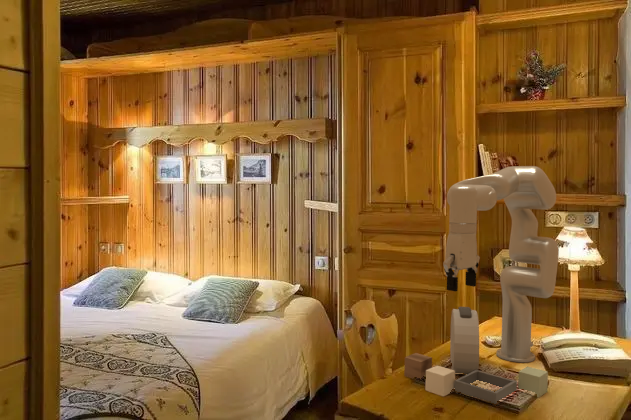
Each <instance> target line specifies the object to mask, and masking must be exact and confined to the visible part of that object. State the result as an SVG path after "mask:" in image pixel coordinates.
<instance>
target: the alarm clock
mask: <svg viewBox="0 0 631 420" xmlns="http://www.w3.org/2000/svg"><path fill="white" fill-rule="evenodd" d="M450 317H451V318H450V341H449V342H450V349H449V350H450V364H451V363H452V366H451V370H454V371H455V373H464V374H469V373H471V372H473V371H475V370H479V366H480V365H479V364H480V325H479V324H480V323H479V314H478V312H477V310H476V309H471V307H469V306H458V307H457V308H452V310H451V316H450Z"/></svg>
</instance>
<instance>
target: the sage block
mask: <svg viewBox="0 0 631 420" xmlns="http://www.w3.org/2000/svg"><path fill="white" fill-rule="evenodd" d="M517 377H518V378H517V379H518V381H517V383H518V384H517V389H518V388H519V389H524V390H528V391H532V392H535V393H536V394H537V397H536V398H538V399H539V398H540V397H542V396H543V395H544V394H545V395H546V393H548V384H549V383H548V381H549V380H548V379H549V371H547V370H543V369H539V368H536V367H532V366H531V367H530V366H529V365H528V366H525V367H524V368H522V369H520V370H519V371H518V376H517Z"/></svg>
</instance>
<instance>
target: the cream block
mask: <svg viewBox="0 0 631 420" xmlns="http://www.w3.org/2000/svg"><path fill="white" fill-rule="evenodd" d="M455 380H456V374H455V371H454V370H452V368H447V367H444V366H440V365H435V366H432V368H430V369H428V370H426V379H425V386H424V387H425V388H424V389H425V391H426V392H429V393H433V394H435V395H438V396H440V397H445V396H447V395H449V394H451V393H452V392H451V390H452V389H454V388H455ZM450 392H451V393H450Z"/></svg>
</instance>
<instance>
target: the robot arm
mask: <svg viewBox="0 0 631 420" xmlns="http://www.w3.org/2000/svg"><path fill="white" fill-rule="evenodd" d="M501 200H503V202H504V203H505V206H506V208H507V210H508V212H509V215H510V218H511V230H510V236H509V246H508V256H509V258H510V260H511V261H513V262H517V263H521V264H531V265H538V266H539V268H536V267H528V266H519V265H510V266H506V267H504V268H503V269H502V271H501V272H500V276H499V277H500V278H499V279H500V287H501V297H502V310H501V311H502V313H501V314H502V316H501V341H500V343H501V344H500V345H501V346H500V348H499V349H496V354H495V355H496V356H497V357H498V358H500V359H502V360H505V361H509V362H513V363H531V362H533V361H535V360H536V355H535V354H534V353H533V352H531V349H532V348H531V347H534V343H533V341H532V321H533V320H532V319H533V317H532V316H533V315H532V313H533V311H532V310H533V309H532V304H531V301H530V300H529V298H528V297H534V298H542V299H548V298H550V297H552V296H553V294H554V292H555V289H556V283H557V281H556V280H557V273H558V264H559V245H558V242H557V241H556V240H555V239H554V238H552V237H547V236H538V229H539V228H538V227H539V222H538V219H537V217H536V215H535V214H534V212H533V211H532V210H550V209H551V208H553V207H554V206H555V204H556V201H557V192H556V189H555V187H554V184H553V183H552V181H551V180H550V179H549V177H548V175H547V174H546V173H545V171H544V170H543V169H542V168H541V167H539V166H536V165H525V166H524V165H521V166H520V165H519V166H517V165H516V166H513V165H512V166H507V167H504V168H502V169H500V170H497V171H496V172H493V173H491V174H486V175H482V176H478V177H471V178H467V179H463V180H461V181H458V182H456V183H453V185H451V186H450V188H449V189H448V191H447V194H446V201H447V203H448V205H449V217H448V218H449V219H448V220H449V221H448V222H449V224H448V226H449V227H448V235H447V238H446V244H445V245H446V246H445V259H444V261H443V263H442V264H443V268H444V273H445V276H446V290H447V291H451V292H458V285H459V283H458V282H459V281H458V280H459V277H458V273H459V271H461V270H466V271H465V285H466V286H469V287H474V288H475V287H476V286H477V273H478V267H479V262H480V259H481V257H480V256H479V254H478V243H477V230H478V229H477V222H478V221H477V219H478V218H477V217H478V211H480V212H481V211H484V212H486V211H489V210H491V209H493V208H494V207H495V205H496V204H497V201H501ZM527 296H528V297H527Z"/></svg>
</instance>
